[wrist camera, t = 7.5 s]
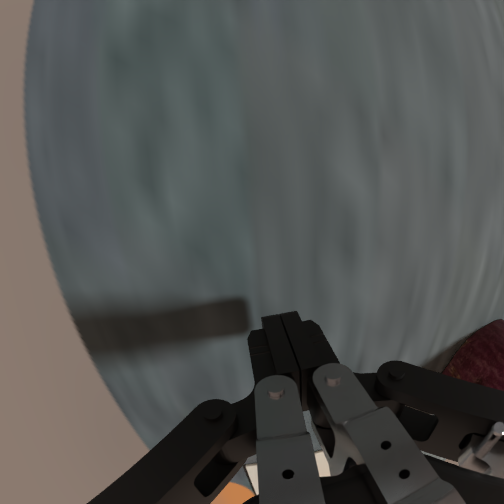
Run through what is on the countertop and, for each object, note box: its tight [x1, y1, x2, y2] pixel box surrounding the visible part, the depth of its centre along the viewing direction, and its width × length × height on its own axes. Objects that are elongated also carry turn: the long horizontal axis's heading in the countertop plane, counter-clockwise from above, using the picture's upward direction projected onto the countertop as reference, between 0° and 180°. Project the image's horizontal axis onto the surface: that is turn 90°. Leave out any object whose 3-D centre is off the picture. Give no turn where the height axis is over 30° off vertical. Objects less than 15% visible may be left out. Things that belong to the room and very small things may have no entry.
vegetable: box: [442, 319, 504, 391], centre depth 12 cm, size 10×10×15 cm
